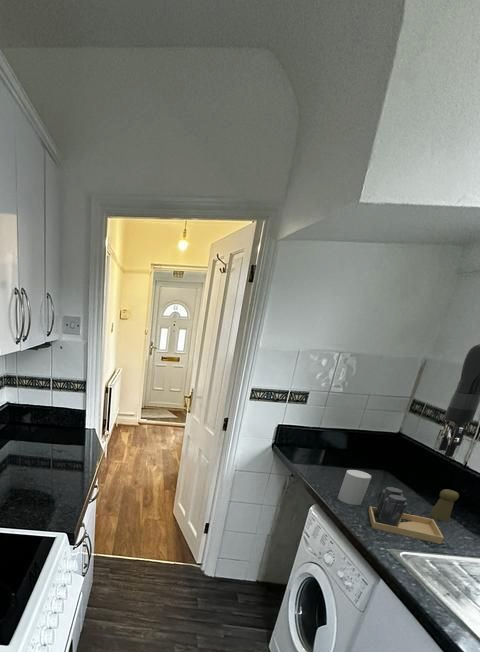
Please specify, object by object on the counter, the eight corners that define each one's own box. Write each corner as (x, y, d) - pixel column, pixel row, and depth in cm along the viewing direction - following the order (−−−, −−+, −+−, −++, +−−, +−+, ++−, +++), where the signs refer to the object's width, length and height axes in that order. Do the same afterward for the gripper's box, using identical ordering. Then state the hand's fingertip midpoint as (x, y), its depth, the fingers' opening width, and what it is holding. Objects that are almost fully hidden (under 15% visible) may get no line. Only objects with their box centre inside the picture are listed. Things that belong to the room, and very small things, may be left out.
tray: (430, 525, 144) (433, 519, 143) (440, 544, 132) (444, 537, 131) (367, 512, 152) (369, 506, 151) (371, 529, 139) (373, 522, 138)
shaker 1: (392, 516, 148) (403, 488, 144) (394, 523, 143) (406, 494, 139) (373, 512, 151) (383, 485, 146) (374, 519, 146) (385, 490, 141)
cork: (428, 512, 154) (440, 485, 150) (448, 517, 151) (461, 490, 146) (428, 518, 150) (441, 491, 145) (449, 524, 147) (462, 496, 142)
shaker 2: (395, 525, 142) (407, 496, 137) (398, 532, 137) (410, 502, 132) (375, 521, 144) (386, 492, 140) (377, 528, 139) (388, 498, 135)
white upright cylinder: (365, 507, 157) (376, 478, 152) (346, 507, 155) (357, 478, 150) (350, 497, 164) (360, 469, 159) (332, 498, 162) (341, 469, 157)
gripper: (483, 411, 131) (464, 460, 137) (470, 404, 143) (452, 450, 149) (454, 408, 134) (436, 456, 140) (443, 402, 146) (427, 446, 152)
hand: (444, 453), depth 145 cm, fingers open, 8 cm apart
